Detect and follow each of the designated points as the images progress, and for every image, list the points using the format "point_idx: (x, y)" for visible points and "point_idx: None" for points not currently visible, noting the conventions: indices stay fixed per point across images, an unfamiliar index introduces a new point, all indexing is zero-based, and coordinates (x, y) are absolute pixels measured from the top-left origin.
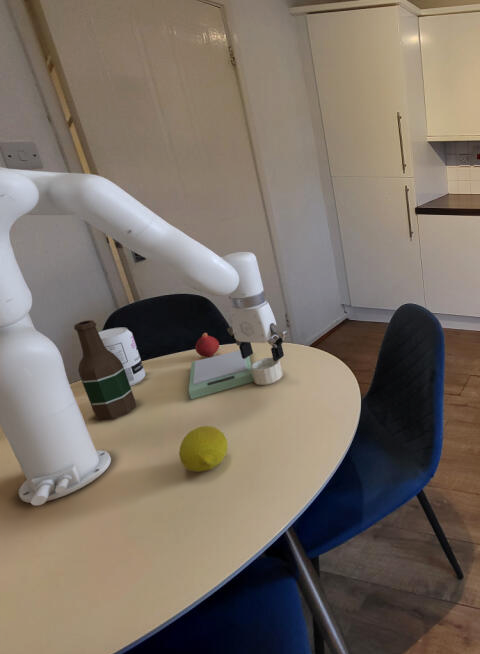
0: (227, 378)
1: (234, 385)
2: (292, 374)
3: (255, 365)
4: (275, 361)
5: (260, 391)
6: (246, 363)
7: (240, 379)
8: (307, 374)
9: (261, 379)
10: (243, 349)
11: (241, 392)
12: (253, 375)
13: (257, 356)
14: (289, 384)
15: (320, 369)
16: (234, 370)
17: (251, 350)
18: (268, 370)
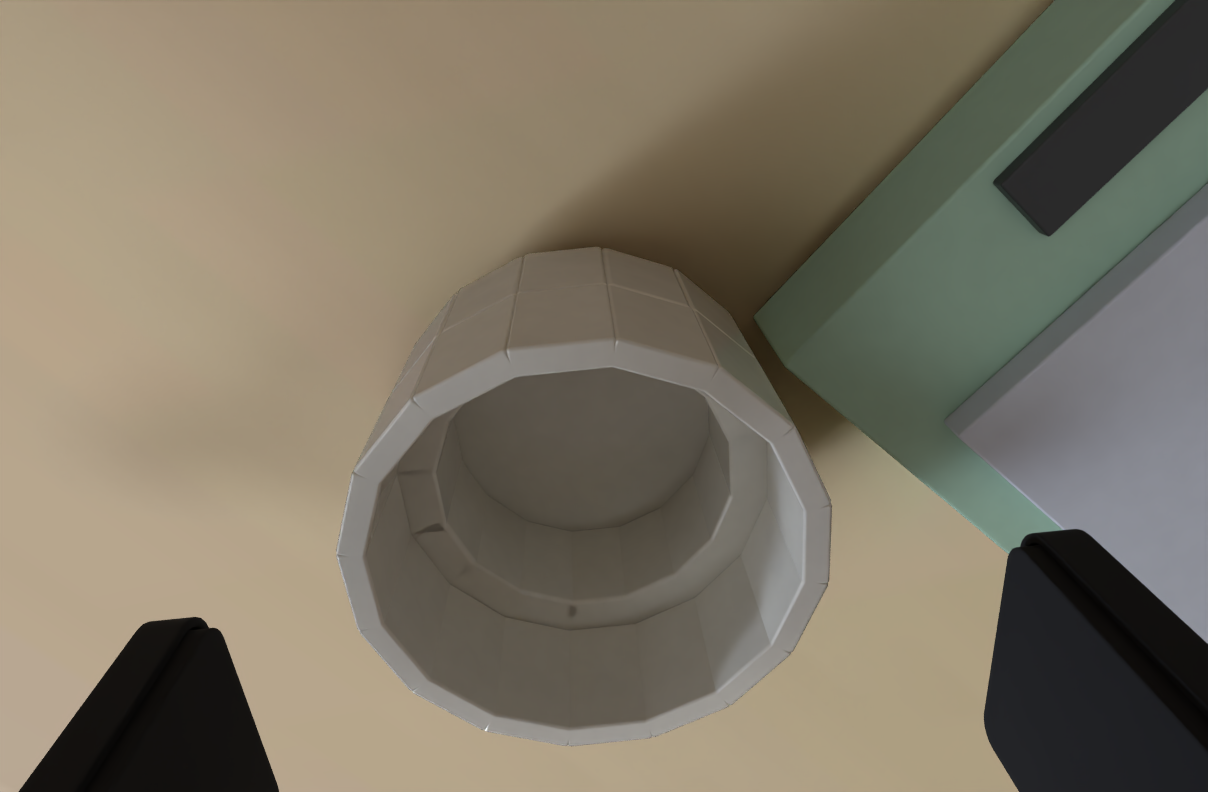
0: (1111, 120)
1: (944, 131)
2: None
3: (790, 503)
4: (576, 677)
5: (432, 130)
6: None
7: (897, 220)
8: (186, 612)
9: (501, 286)
10: (1176, 750)
11: (709, 25)
12: (672, 306)
13: None
14: (186, 385)
15: None
16: (1141, 347)
17: (1029, 782)
18: (376, 428)
